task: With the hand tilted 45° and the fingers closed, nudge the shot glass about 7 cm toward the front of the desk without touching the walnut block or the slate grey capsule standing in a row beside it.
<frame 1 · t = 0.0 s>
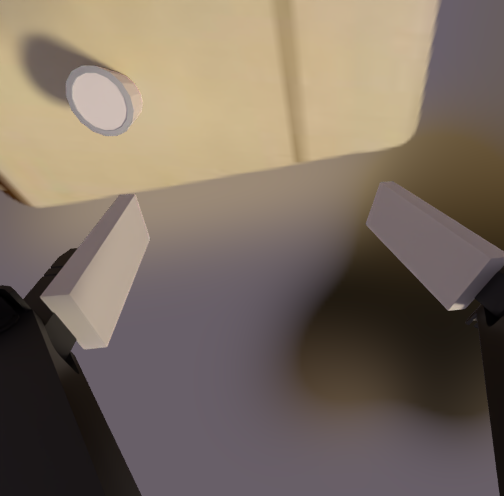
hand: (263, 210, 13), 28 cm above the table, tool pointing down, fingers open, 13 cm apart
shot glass: (121, 97, 32), on the table
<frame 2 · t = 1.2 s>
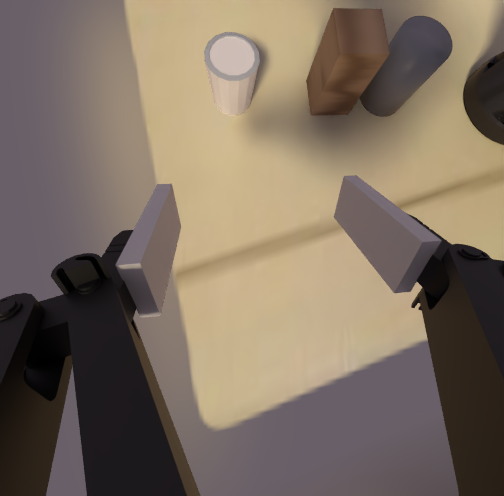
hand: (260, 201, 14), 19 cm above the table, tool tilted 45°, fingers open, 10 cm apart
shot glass: (232, 99, 36), on the table
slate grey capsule: (380, 96, 38), on the table
walnut block: (326, 97, 37), on the table
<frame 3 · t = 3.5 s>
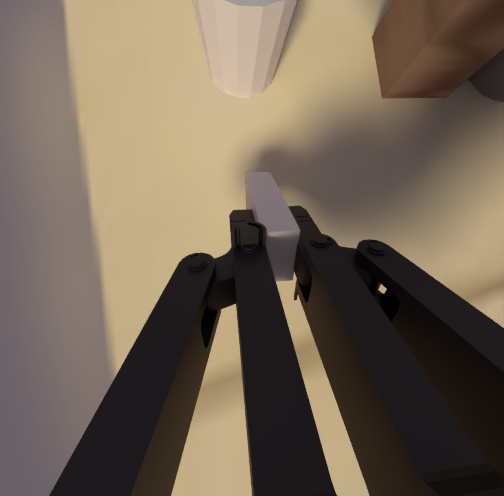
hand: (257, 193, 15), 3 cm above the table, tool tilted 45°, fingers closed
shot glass: (241, 69, 20), on the table
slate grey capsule: (498, 67, 22), on the table
walnut block: (408, 67, 21), on the table
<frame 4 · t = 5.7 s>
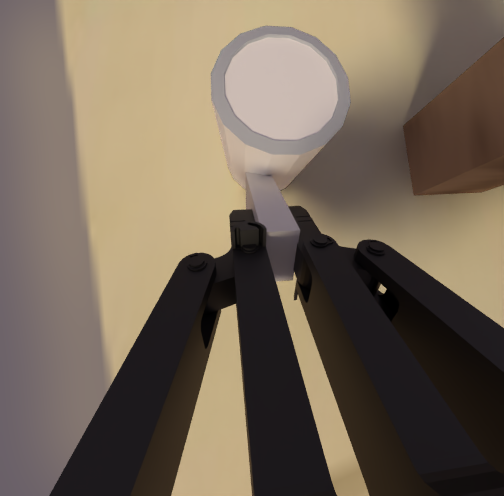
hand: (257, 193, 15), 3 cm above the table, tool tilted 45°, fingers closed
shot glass: (263, 160, 18), on the table, touching gripper
walnut block: (441, 159, 19), on the table
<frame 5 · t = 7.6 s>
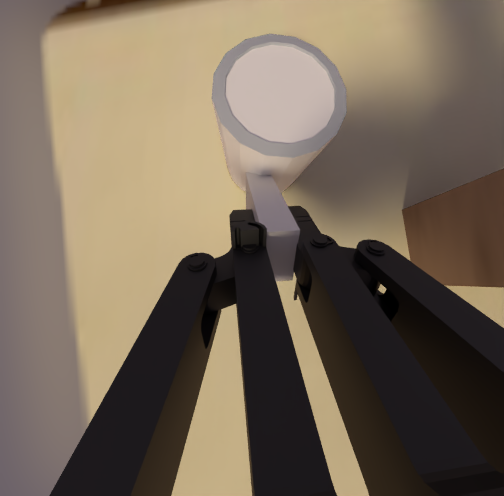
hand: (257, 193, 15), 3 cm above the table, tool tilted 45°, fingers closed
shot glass: (262, 164, 18), on the table, touching gripper
walnut block: (442, 243, 19), on the table
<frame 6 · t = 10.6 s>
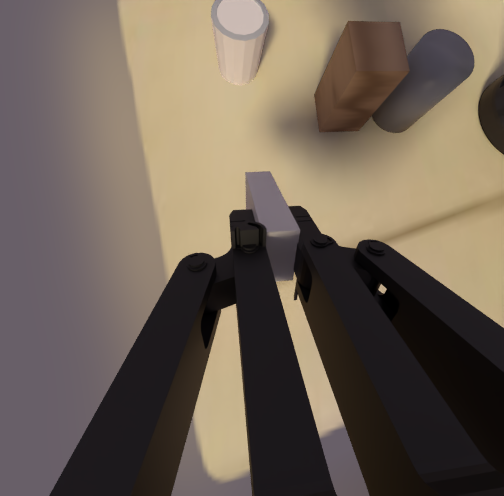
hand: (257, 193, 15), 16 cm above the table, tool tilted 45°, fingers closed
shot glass: (238, 69, 34), on the table
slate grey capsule: (392, 111, 35), on the table
walnut block: (336, 112, 35), on the table
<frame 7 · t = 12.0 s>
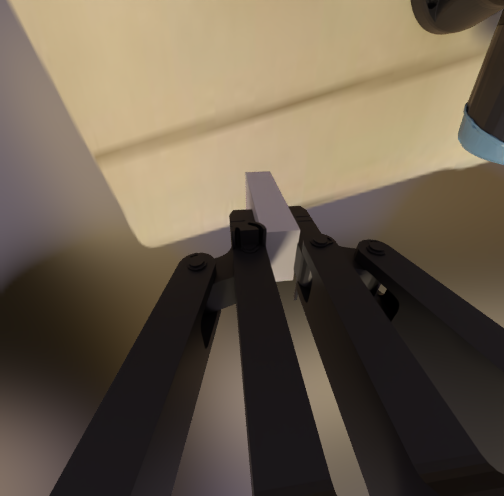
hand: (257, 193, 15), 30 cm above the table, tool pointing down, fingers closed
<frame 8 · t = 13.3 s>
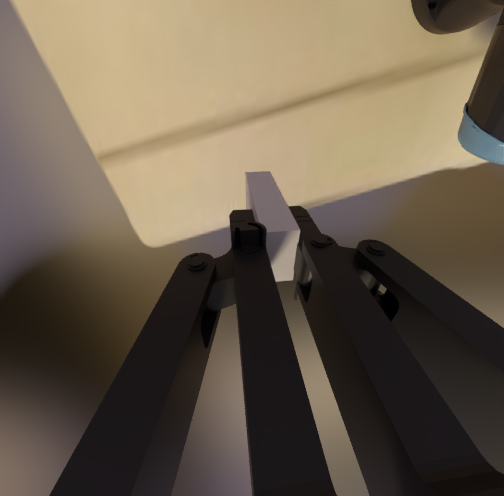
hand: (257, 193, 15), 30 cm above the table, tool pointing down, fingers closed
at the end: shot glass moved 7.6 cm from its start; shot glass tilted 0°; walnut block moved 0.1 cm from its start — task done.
